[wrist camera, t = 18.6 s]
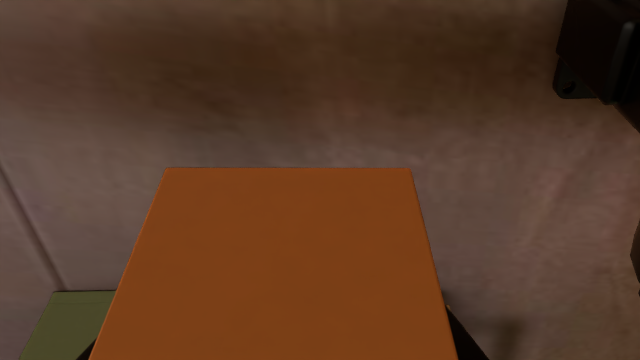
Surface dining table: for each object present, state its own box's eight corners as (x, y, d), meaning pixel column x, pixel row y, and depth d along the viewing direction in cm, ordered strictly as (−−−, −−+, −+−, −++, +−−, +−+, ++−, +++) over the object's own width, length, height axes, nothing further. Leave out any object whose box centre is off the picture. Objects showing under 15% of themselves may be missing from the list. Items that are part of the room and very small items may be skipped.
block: (411, 167, 9) (466, 388, 6) (390, 326, 12) (421, 546, 8) (165, 166, 9) (74, 388, 6) (197, 326, 12) (146, 548, 8)
